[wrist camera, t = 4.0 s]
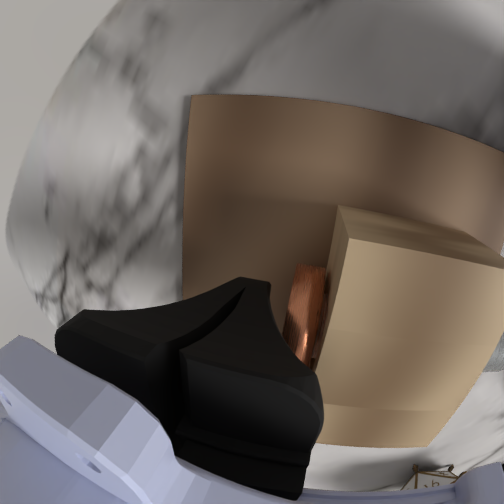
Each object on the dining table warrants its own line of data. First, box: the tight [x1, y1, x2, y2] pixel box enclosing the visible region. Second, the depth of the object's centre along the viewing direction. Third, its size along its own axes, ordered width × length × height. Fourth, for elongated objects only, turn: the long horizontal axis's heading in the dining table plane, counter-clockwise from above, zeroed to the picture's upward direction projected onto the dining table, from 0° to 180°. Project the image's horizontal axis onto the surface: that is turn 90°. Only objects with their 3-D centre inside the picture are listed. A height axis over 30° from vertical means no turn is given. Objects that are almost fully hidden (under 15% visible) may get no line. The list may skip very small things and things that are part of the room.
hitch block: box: [182, 95, 504, 448], centre depth 10 cm, size 15×16×5 cm
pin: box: [282, 263, 504, 372], centre depth 9 cm, size 10×4×4 cm, turn 85°
